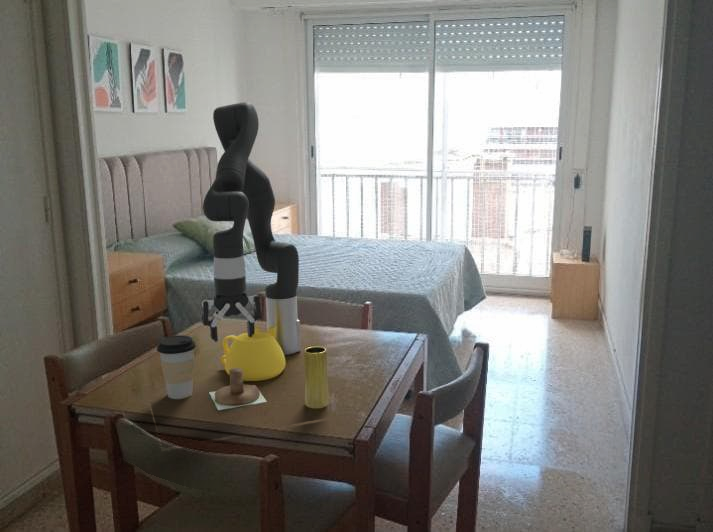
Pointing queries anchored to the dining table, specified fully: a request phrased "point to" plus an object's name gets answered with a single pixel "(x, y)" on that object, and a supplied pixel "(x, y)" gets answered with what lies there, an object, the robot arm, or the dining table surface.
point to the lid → (237, 391)
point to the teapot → (254, 355)
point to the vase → (316, 378)
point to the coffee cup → (177, 365)
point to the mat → (221, 407)
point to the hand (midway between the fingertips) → (232, 338)
